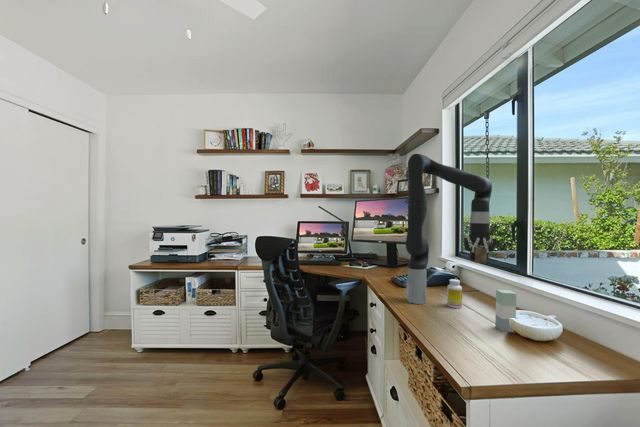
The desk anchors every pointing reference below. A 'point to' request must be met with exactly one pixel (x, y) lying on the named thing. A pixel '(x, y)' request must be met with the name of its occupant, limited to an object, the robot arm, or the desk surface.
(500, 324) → the tower base
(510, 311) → the tower mid
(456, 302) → the supplement bottle
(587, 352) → the desk surface
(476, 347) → the desk surface
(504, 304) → the tower top
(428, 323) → the desk surface
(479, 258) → the walnut block
